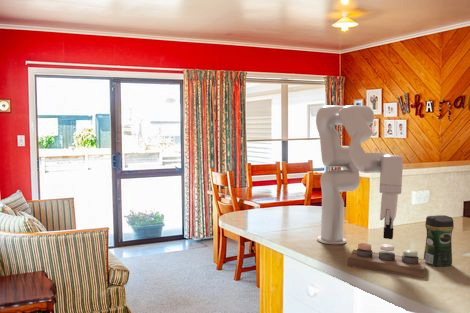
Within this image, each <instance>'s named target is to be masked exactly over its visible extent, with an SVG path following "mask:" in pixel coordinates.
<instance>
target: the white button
mask: <svg viewBox="0 0 470 313" xmlns="http://www.w3.org/2000/svg"><path fill="white" fill-rule="evenodd" d="M379 248H380V250H381V251H388V252H393V251H395V246H394V244H393V245H392V244H388V243H382V244H380V247H379Z"/></svg>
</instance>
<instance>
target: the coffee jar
mask: <svg viewBox="0 0 470 313" xmlns="http://www.w3.org/2000/svg"><path fill="white" fill-rule="evenodd" d="M454 224H455V223H454V219H453V217H452V216H449V215H445V214H443V215H441V214H440V215H439V214H438V215H437V214H436V215H427V216H426V218H425V224H424V225H425V228H426V239H425V246H424V253H423V259H425V264H426V265H429V266H433V267H446V266H452V264H453V252H452V251H453V250H452V248H453V246H452V234H453V231H454V228H455V227H454Z"/></svg>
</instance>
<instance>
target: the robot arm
mask: <svg viewBox="0 0 470 313" xmlns="http://www.w3.org/2000/svg"><path fill="white" fill-rule="evenodd" d="M374 120H375V114H374V111H373V109H372V108H371V107H370V106H368V105H357V104H354V105H353V104H351V105H336V104H335V105H334V104H333V105H330V104H329V105H324V106H322V107H320V108H319V109H318V111H317V112H316V116H315V123H316V129H317V132H318V135H319V141H320V142H319V143H320V152H321V154H320V155H321V161H322V164H323V166H325V167H327V168H342V169H332V170H326V171H324V172H323V173H322V174H321V175H320V180H319V182H320V187H321V197H322V198H321V220H320V222H321V224H320V235H318V236H317V237H316V238H317V239H316V240H317V241H318V242H320V243H322V244H326V245H334V246H335V245H344V244H345V243H346V242H347V238H346V237H344V218H345V217H344V214H345V212H344V211H345V202H344V201H345V200H344V199H343V196H342V195H341V192H353V191H356V190H357V189H359V187H360V183H361V182H360V173H364V174H373V173H375V174H376V173H377V174H380V175H379V193H381V200H380V201H381V202H380V214H379V220H380V221H384V224H383V226H384V227H383V239H384V240H385V239H386V240H393V239H394V221H395V219H396V218H397V212H398V201H399V200H398V198H399V196H398V195H401V194H402V190H403V189H402V186H403V168H404V167H403V165H404V164H403V163H404V159H403V157H402V155H398V154H391V153H388V152H366V151H365V150H364V149H363V147H362V144H363V143H366V142H367V141H368V140H369V139H370V138H371V136H372V134H373V131H372V129H371V127H370V126H371V125H372V123H373V122H374ZM335 125H336V126H343V127H344V128H345V131H346V133H348V136H349V137H350V139H351V141H350V143H349V145H341V140H340V134H339V133H338V131H337V130H336V128H335V127H334V126H335Z"/></svg>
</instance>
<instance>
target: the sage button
mask: <svg viewBox="0 0 470 313" xmlns="http://www.w3.org/2000/svg"><path fill="white" fill-rule="evenodd" d="M402 255H406V256H412V257H415V256H418V255H419V253H418V251H417V250H415V249H409V248H408V249H403V252H402ZM418 257H419V256H418Z"/></svg>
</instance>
